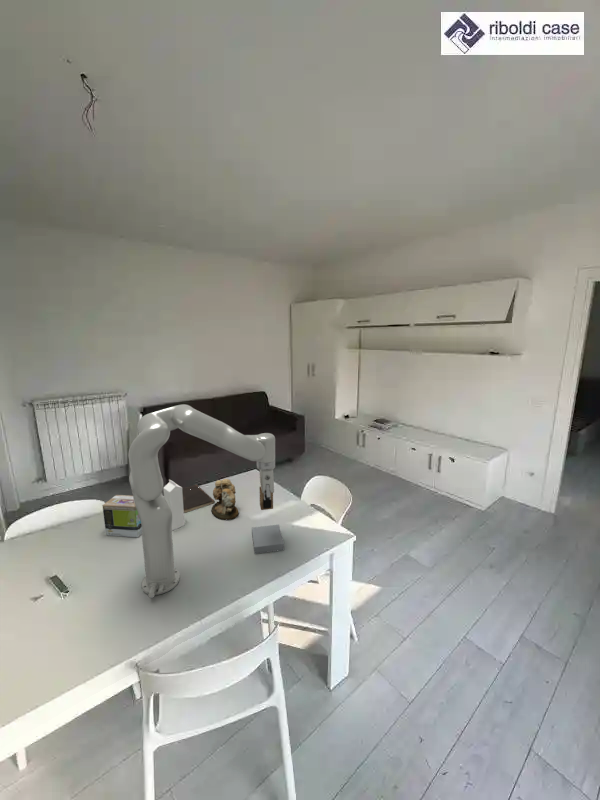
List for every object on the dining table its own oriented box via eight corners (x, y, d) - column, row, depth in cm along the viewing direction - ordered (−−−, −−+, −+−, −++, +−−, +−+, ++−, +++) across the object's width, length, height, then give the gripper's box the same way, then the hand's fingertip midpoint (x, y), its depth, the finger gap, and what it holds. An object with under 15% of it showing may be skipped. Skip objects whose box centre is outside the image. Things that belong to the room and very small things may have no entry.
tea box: (150, 525, 155) (147, 495, 152) (137, 538, 145) (134, 507, 142) (119, 522, 156) (116, 493, 153) (105, 535, 147) (101, 504, 144)
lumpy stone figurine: (204, 508, 170) (203, 477, 167) (225, 501, 178) (224, 470, 174) (223, 523, 157) (222, 489, 154) (244, 515, 165) (243, 482, 161)
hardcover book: (184, 514, 165) (184, 509, 165) (168, 496, 183) (168, 492, 182) (214, 504, 175) (214, 500, 175) (197, 487, 193) (197, 484, 192)
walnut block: (273, 508, 139) (273, 491, 138) (261, 510, 138) (260, 492, 136) (271, 502, 144) (271, 485, 142) (259, 504, 143) (259, 486, 141)
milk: (172, 530, 151) (168, 485, 146) (166, 525, 155) (162, 481, 150) (184, 525, 155) (181, 481, 151) (178, 520, 159) (175, 476, 155)
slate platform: (283, 550, 139) (283, 543, 138) (254, 553, 136) (254, 547, 136) (278, 530, 152) (278, 524, 152) (251, 533, 150) (251, 527, 149)
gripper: (278, 471, 130) (278, 514, 134) (272, 455, 146) (272, 494, 150) (258, 473, 128) (259, 516, 132) (254, 456, 144) (255, 495, 148)
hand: (266, 504), depth 141 cm, fingers closed on walnut block, 5 cm apart
